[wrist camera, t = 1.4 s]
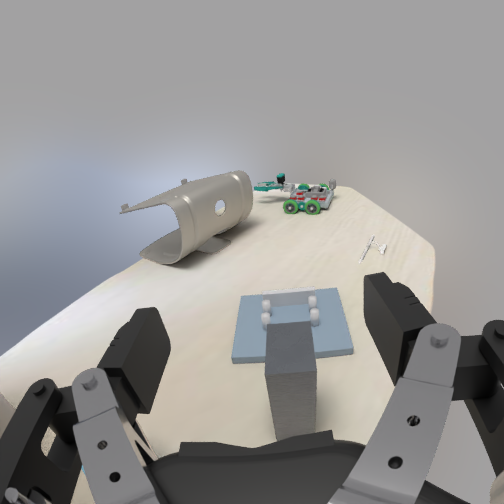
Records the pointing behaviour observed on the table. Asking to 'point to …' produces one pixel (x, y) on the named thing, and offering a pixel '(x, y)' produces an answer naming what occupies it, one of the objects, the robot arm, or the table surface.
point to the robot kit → (302, 195)
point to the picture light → (369, 246)
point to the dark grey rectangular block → (291, 378)
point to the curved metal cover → (199, 215)
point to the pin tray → (291, 310)
